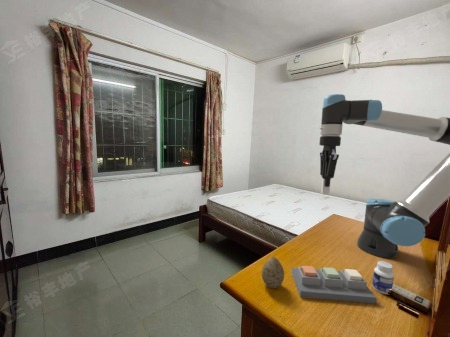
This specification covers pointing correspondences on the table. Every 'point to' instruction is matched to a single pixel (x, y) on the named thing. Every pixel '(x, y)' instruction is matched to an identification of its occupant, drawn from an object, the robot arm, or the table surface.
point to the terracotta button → (308, 271)
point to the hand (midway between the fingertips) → (325, 193)
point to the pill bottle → (383, 277)
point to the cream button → (353, 274)
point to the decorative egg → (272, 273)
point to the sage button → (330, 273)
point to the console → (332, 287)
